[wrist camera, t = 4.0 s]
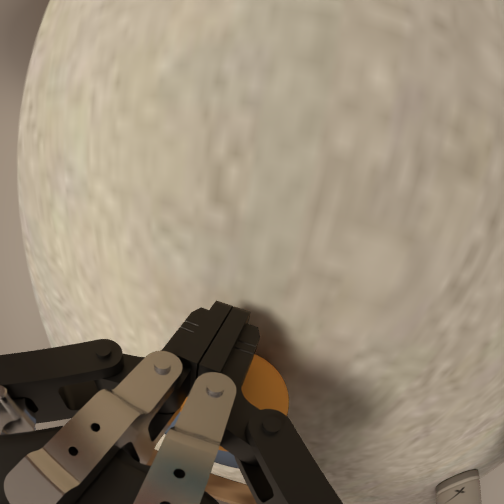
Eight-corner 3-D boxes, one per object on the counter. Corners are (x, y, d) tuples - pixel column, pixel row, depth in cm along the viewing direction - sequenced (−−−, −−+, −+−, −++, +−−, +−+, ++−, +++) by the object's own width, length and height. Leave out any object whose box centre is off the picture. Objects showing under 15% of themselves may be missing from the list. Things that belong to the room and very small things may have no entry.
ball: (284, 465, 8) (275, 456, 12) (303, 344, 11) (289, 373, 16) (150, 434, 9) (183, 437, 13) (183, 323, 12) (203, 357, 16)
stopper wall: (284, 493, 23) (279, 512, 21) (280, 496, 24) (275, 514, 22) (138, 441, 27) (128, 456, 24) (140, 446, 28) (130, 461, 25)
